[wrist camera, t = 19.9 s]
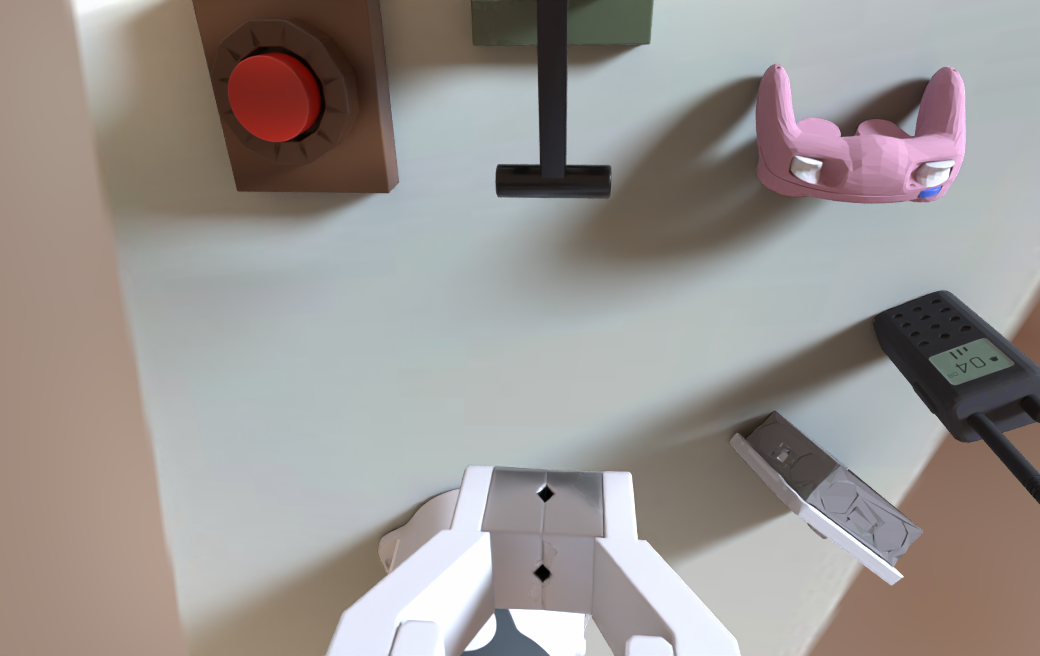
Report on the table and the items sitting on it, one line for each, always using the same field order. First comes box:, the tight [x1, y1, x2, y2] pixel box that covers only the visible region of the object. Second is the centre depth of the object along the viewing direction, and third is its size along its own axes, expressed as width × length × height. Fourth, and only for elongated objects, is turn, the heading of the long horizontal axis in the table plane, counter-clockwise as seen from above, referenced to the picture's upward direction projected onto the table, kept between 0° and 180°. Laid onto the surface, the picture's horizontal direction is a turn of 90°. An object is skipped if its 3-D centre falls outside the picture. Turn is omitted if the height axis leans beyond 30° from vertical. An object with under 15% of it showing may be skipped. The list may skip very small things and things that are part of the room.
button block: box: [192, 0, 399, 193], centre depth 33 cm, size 11×9×4 cm
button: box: [228, 52, 321, 142], centre depth 31 cm, size 4×4×2 cm
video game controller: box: [756, 64, 965, 203], centre depth 31 cm, size 10×5×7 cm, turn 90°
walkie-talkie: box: [874, 291, 1040, 504], centre depth 32 cm, size 5×3×15 cm
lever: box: [496, 0, 611, 199], centre depth 24 cm, size 12×5×2 cm, turn 1°
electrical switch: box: [729, 411, 924, 585], centre depth 40 cm, size 9×5×9 cm, turn 52°
